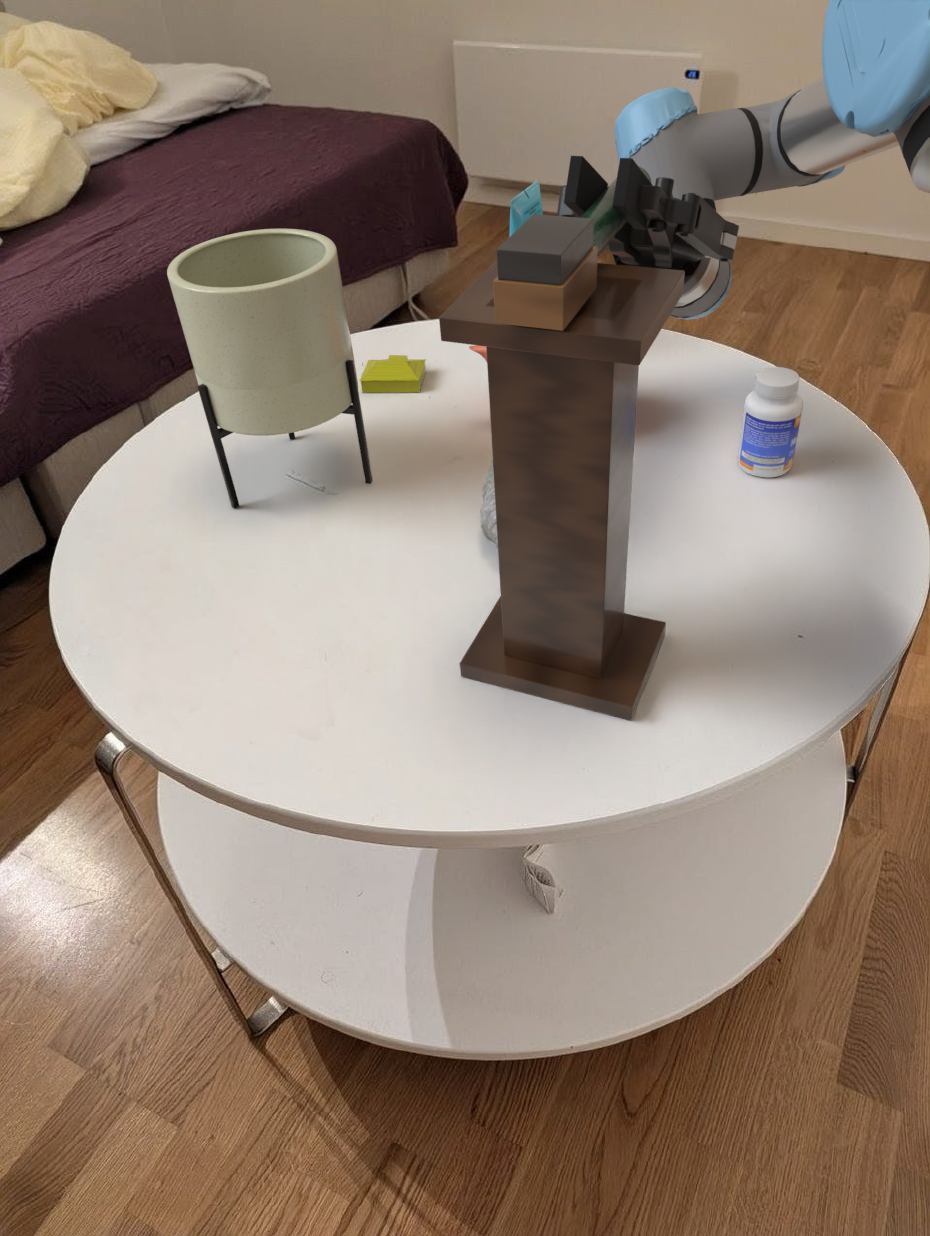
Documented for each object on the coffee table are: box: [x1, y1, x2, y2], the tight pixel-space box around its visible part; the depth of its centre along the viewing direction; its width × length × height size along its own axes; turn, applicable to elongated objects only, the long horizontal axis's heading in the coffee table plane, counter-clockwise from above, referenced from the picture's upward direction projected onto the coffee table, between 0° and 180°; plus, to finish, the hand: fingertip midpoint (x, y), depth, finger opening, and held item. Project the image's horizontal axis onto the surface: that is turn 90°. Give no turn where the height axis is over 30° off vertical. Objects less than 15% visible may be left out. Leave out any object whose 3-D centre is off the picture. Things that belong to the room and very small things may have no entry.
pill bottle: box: [737, 366, 804, 478], centre depth 90 cm, size 5×5×10 cm
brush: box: [493, 166, 652, 331], centre depth 56 cm, size 21×4×4 cm, turn 157°
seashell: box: [480, 460, 498, 549], centre depth 86 cm, size 6×14×8 cm, turn 177°
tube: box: [509, 180, 544, 237], centre depth 110 cm, size 7×5×19 cm, turn 158°
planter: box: [166, 228, 374, 509], centre depth 90 cm, size 15×16×23 cm
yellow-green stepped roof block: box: [359, 354, 438, 399], centre depth 112 cm, size 10×9×3 cm
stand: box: [438, 259, 685, 721], centre depth 65 cm, size 14×10×30 cm
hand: (597, 181), depth 56 cm, fingers closed on brush, 2 cm apart
